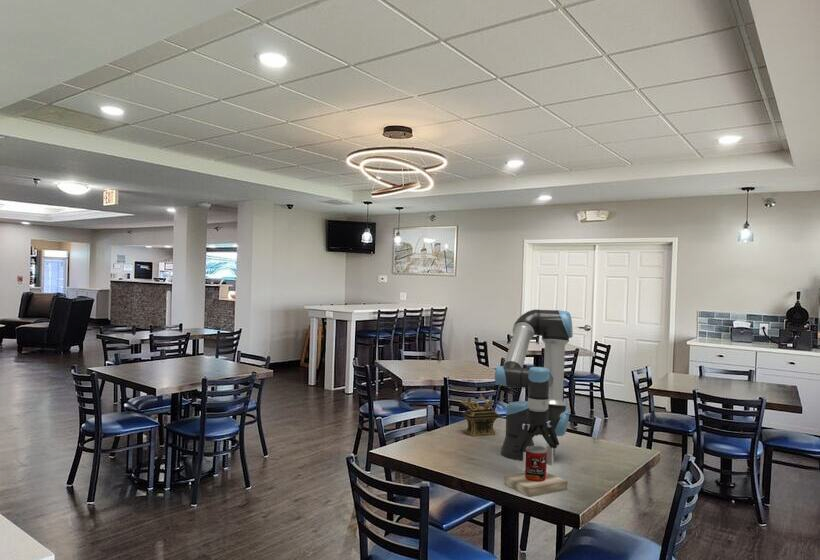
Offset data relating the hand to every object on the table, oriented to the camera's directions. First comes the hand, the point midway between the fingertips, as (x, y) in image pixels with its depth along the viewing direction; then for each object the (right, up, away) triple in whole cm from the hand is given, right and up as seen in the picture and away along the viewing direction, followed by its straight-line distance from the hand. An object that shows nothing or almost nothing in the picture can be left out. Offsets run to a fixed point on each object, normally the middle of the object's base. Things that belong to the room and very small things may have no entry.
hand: (536, 467), depth 206 cm
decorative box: (-13, -8, +74) cm, 76 cm away
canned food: (0, -4, 0) cm, 4 cm away
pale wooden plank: (0, -7, 0) cm, 7 cm away
